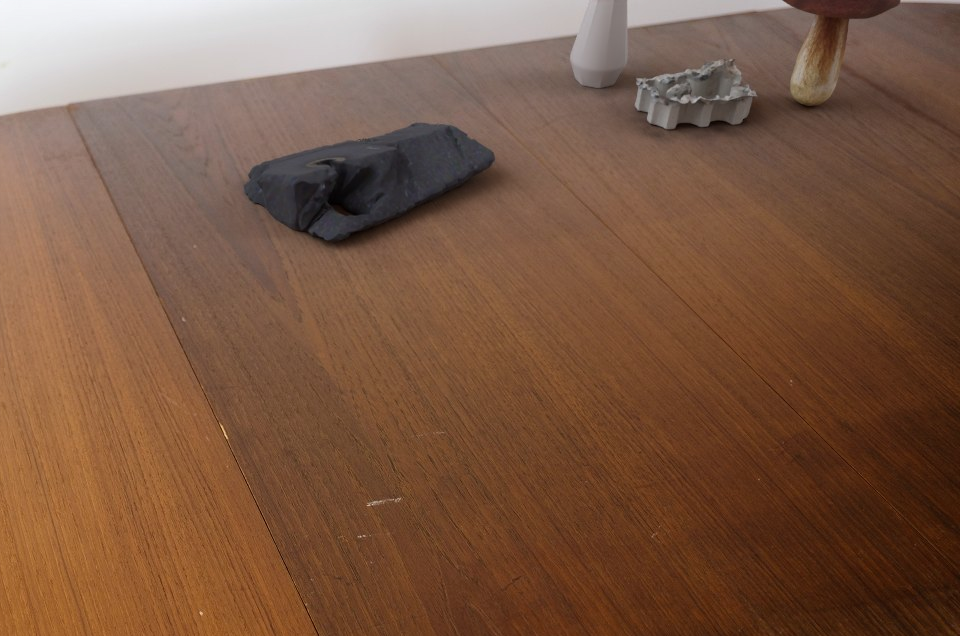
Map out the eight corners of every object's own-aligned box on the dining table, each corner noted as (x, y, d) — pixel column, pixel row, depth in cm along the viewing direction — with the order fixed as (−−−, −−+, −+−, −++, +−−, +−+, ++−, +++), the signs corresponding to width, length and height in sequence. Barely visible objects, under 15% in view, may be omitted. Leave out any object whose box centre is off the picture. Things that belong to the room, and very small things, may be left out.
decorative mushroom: (804, 135, 121) (850, -23, 111) (727, 93, 128) (764, -58, 118) (889, 112, 124) (941, -43, 114) (809, 73, 131) (851, -76, 122)
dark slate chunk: (518, 187, 114) (525, 139, 111) (319, 255, 106) (320, 205, 102) (417, 126, 124) (421, 80, 121) (227, 184, 116) (226, 136, 112)
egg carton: (729, 95, 128) (738, 56, 125) (756, 127, 122) (767, 87, 119) (626, 100, 127) (634, 61, 125) (649, 131, 122) (658, 91, 119)
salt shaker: (580, 94, 129) (601, -35, 120) (558, 72, 133) (577, -54, 125) (632, 88, 130) (657, -41, 121) (609, 66, 134) (631, -59, 125)
